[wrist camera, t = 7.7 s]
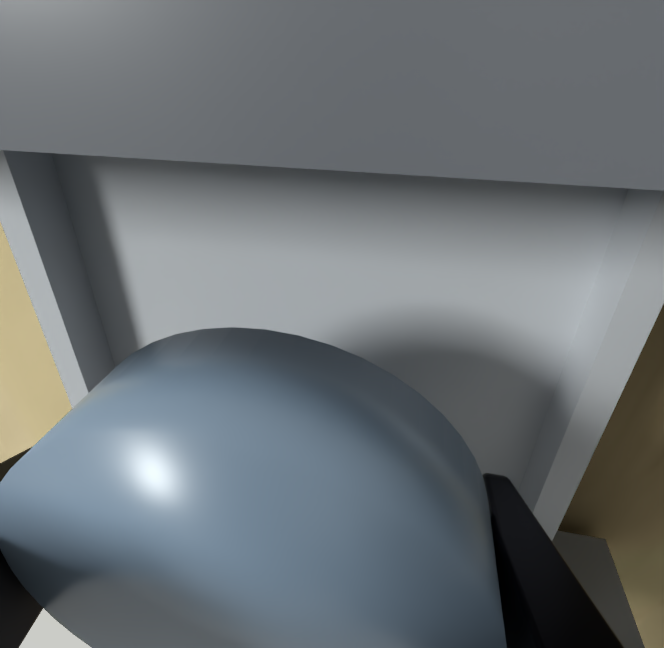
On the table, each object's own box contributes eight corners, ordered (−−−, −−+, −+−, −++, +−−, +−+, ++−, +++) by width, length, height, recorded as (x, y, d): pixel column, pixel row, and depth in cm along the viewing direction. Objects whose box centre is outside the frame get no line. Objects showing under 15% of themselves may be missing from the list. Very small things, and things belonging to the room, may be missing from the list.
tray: (593, 559, 12) (656, 756, 9) (92, 467, 15) (-13, 592, 11) (902, 20, 6) (1607, -41, 2) (-85, 14, 8) (-461, -20, 5)
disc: (545, 596, 8) (578, 749, 6) (234, 619, 10) (196, 728, 9) (365, 247, 5) (330, 342, 3) (14, 403, 8) (-103, 499, 6)
